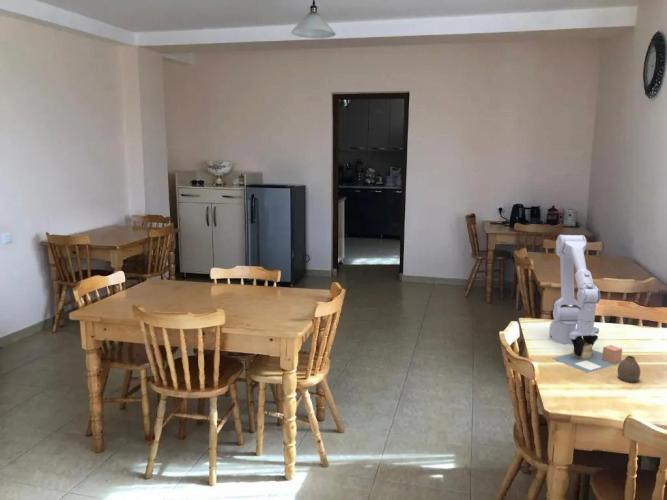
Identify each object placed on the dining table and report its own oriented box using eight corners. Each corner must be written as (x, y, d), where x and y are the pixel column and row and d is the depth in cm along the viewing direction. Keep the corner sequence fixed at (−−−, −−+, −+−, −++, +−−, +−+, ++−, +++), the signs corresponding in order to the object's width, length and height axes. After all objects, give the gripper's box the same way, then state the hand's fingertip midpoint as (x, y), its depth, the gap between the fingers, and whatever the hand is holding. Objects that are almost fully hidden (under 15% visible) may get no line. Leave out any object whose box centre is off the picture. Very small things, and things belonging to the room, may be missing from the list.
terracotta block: (602, 359, 210) (603, 346, 209) (609, 357, 212) (611, 344, 211) (613, 363, 206) (614, 350, 205) (620, 361, 209) (622, 348, 208)
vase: (611, 378, 195) (614, 354, 194) (626, 375, 198) (629, 352, 196) (628, 386, 189) (631, 361, 187) (643, 383, 192) (647, 359, 190)
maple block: (572, 355, 214) (574, 342, 213) (580, 353, 216) (582, 340, 215) (583, 359, 210) (584, 346, 209) (591, 357, 212) (592, 344, 211)
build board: (551, 360, 211) (551, 357, 211) (589, 350, 222) (589, 348, 221) (586, 374, 198) (587, 372, 198) (625, 363, 209) (625, 361, 209)
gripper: (582, 325, 203) (578, 361, 206) (607, 319, 211) (604, 354, 213) (566, 319, 209) (562, 354, 212) (591, 314, 217) (587, 348, 219)
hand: (582, 354), depth 213 cm, fingers closed on maple block, 4 cm apart
